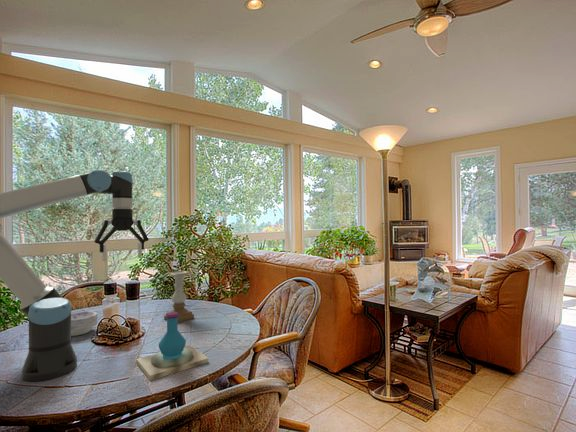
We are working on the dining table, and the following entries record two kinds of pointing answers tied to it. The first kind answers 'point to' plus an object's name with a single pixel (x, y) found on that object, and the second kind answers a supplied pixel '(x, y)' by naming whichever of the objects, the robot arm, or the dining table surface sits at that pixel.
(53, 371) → the robot arm
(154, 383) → the dining table surface
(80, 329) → the paper bowls
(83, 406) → the dining table surface
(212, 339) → the dining table surface
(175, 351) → the perfume bottle
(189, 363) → the birch stand
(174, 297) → the candle holder
